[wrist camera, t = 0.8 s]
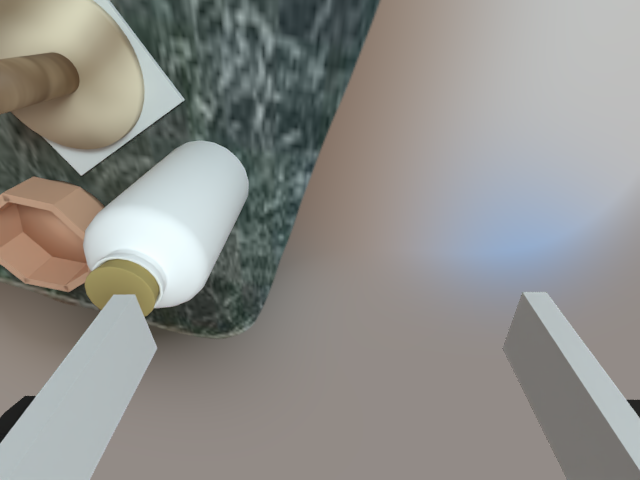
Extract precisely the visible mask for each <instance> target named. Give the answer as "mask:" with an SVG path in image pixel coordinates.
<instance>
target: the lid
mask: <svg viewBox="0 0 640 480" xmlns="http://www.w3.org/2000/svg"><path fill="white" fill-rule="evenodd" d="M144 94H145V89H144V79H143V74H142V70H141V66H140V63H139V60H138V58H137V55H136V53H135V51H134V48H133V47H132V45H131V43H130V41H129V40H128V38H127V36H126V35H125V33H124V32H123V30H122V29H121V28H120V26H119V25H118V24H117V23H116V21H115V20H114V19H113V18H112V17H111V16H110V15H109V14H108V13H107V12H106V11H105V10H104V9H103V8H102V7H101V6H100V5H98V4H97V3H96V2H94V1H93V0H0V114H3V113H7V112H10V111H11V112H12V113H13V114H14V115H15V116H16V117H17V118H18V119H19V120H20V121H21V122H23V123H24V124H25V125H26V126H28V127H29V128H30V129H32V130H33V131H35V132H36V133H38V134H39V135H41V136H43V137H45V138H47V139H48V140H50V141H53V142H55V143H58V144H60V145H64V146H67V147H71V148H76V149H98V148H102V147H106V146H108V145H111V144H113V143H114V142H116V141H118V140H120V139H121V138H123V137H124V136H126V135H127V134H128V133H129V132H130V131H131V130H132V129H133V128H134V126H135V125H136V123H137V122H138V120H139V118H140V115H141V112H142V110H143V104H144Z"/></svg>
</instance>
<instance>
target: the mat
mask: <svg viewBox="0 0 640 480" xmlns="http://www.w3.org/2000/svg"><path fill="white" fill-rule="evenodd" d="M93 1H94V2H96V3H97V4H98V5H100V6H101V7H102V8H103V9H104V10H105V11H106V12H107V13H108V14H109V15H110V16H111V17H112V18H113V19H114V20H115V21H116V23H117V24H118V25H119V26H120V28H121V29H122V30H123V32H124V33H125V35H126V36H127V38H128V40H129V41H130V43H131V45H132V47H133V48H134V51H135V53H136V55H137V58H138V60H139V63H140V66H141V70H142V74H143V79H144V89H145V94H144V104H143V110H142V112H141V115H140V118H139V120H138V122H137V123H136V125H135V126H134V128H133V129H132V130H131V131H130V132H129V133H128V134H127V135H126V136H124V137H123V138H121V139H120V140H118V141H116V142H114V143H113V144H111V145H108V146H106V147H102V148H98V149H76V148H71V147H67V146H64V145H60V144H58V143H55V142H53V141H50V140H48V139H47V138H45V137H43V136H42V137H43V138H44V139H45V140H46V141H47V142H48V143H49V144H50V145H51V146H52V147H53V148H54V149H55V150H56V151H57V152H58V153H59V154H60V155H61V156H62V157H63V158H64V159H65V160H66V161H67V162H68V163H69V164H70V165H71V166H72V167H73V168H74V169H75V170H76V171H77V172H78V173H79V174H80V175H81V176H82V175H83V174H85V173H86V172H87V171H89V170H90V169H91V168H93V167H94V166H95V165H97V164H98V163H100V162H101V161H102V160H104V159H105V158H106V157H108V156H109V155H110V154H112V153H113V152H115V151H116V150H117V149H119V148H120V147H121V146H123V145H124V144H125V143H127V142H128V141H130V140H131V139H132V138H134V137H135V136H136V135H138V134H139V133H140V132H142V131H143V130H145V129H146V128H147V127H149V126H150V125H151V124H153V123H154V122H155V121H157V120H158V119H160V118H161V117H162V116H164V115H165V114H166V113H168V112H169V111H170V110H172V109H173V108H175V107H176V106H177V105H179V104H180V103H181V102H183V101H184V98H183V97H182V96H181V94H180V93H179V92H178V90H177V89H176V88H175V86H174V85H173V84H172V82H171V81H170V80H169V78H168V77H167V76H166V74H165V73H164V72H163V70H162V69H161V68H160V66H159V65H158V64H157V62H156V61H155V60H154V59H153V57H152V56H151V55H150V53H149V52H148V51H147V49H146V48H145V47H144V45H143V44H142V43H141V41H140V40H139V39H138V37H137V36H136V35H135V33H134V32H133V31H132V29H131V28H130V27H129V25H128V24H127V23H126V21H125V20H124V19H123V18H122V16H121V15H120V14H119V12H118V11H117V10H116V8H115V7H114V6H113V4H112V3H111V2H110V0H93Z"/></svg>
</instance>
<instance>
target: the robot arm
mask: <svg viewBox="0 0 640 480" xmlns="http://www.w3.org/2000/svg"><path fill="white" fill-rule="evenodd" d="M156 350H157V346H156V344H155V341H154V339H153V337H152V334H151V332H150V330H149V327H148V325H147V322H146V320H145V317H144V315H143V313H142V310H141V308H140V305H139V303H138V300H137V298H136V296H135V294H126V295H113V296H112V297H111V299H110V300H109V301H108V302H107V304H106V305H105V306H104V308H103V309H102V310H101V312H100V313H99V314H98V316H97V317H96V318H95V320H94V321H93V322H92V324H91V325H90V326H89V327H88V329H87V330H86V332H85V333H84V334H83V335H82V337H81V338H80V339H79V341H78V342H77V343H76V345H75V346H74V347H73V348H72V350H71V351H70V352H69V354H68V355H67V356H66V358H65V359H64V360H63V362H62V363H61V364H60V366H59V367H58V368H57V370H56V371H55V372H54V373H53V375H52V376H51V377H50V379H49V380H48V381H47V383H46V384H45V385H44V387H43V388H42V389H41V391H40V392H39V393H38V395H37V396H25V397H24V398H22V399H21V400H20V401H18V402H17V403H16V404H15V405H14V406H12V407H11V408H10V409H9V410H7V411H6V412H5V413H4V414H3V415H2V416H1V418H0V480H90V478H91V476H92V474H93V472H94V470H95V468H96V466H97V464H98V462H99V460H100V458H101V456H102V455H103V453H104V451H105V449H106V447H107V445H108V443H109V441H110V439H111V437H112V435H113V433H114V431H115V429H116V427H117V425H118V424H119V421H120V420H121V418H122V415H123V414H124V412H125V410H126V408H127V406H128V404H129V402H130V400H131V398H132V396H133V394H134V392H135V390H136V388H137V387H138V384H139V383H140V381H141V378H142V377H143V375H144V373H145V371H146V369H147V367H148V365H149V363H150V361H151V359H152V357H153V355H154V353H155V352H156ZM503 351H504V352H505V354H506V357H507V359H508V361H509V363H510V365H511V367H512V369H513V371H514V373H515V375H516V377H517V379H518V381H519V383H520V385H521V387H522V389H523V391H524V393H525V395H526V397H527V399H528V401H529V403H530V405H531V408H532V410H533V412H534V414H535V415H536V418H537V420H538V422H539V424H540V426H541V428H542V430H543V432H544V434H545V436H546V438H547V440H548V442H549V444H550V446H551V448H552V450H553V452H554V454H555V456H556V458H557V460H558V462H559V464H560V466H561V468H562V471H563V472H564V475H565V476H566V479H567V480H640V400H626V399H625V398H624V396H623V395H622V393H621V392H620V391H619V390H618V388H617V387H616V386H615V384H614V383H613V381H612V380H611V379H610V377H609V376H608V375H607V373H606V372H605V371H604V369H603V368H602V367H601V365H600V364H599V363H598V361H597V360H596V359H595V357H594V356H593V355H592V353H591V352H590V350H589V349H588V348H587V346H586V345H585V344H584V342H583V341H582V340H581V338H580V337H579V336H578V334H577V333H576V331H575V330H574V329H573V327H572V326H571V325H570V323H569V322H568V321H567V319H566V318H565V317H564V315H563V314H562V313H561V311H560V310H559V309H558V307H557V306H556V305H555V303H554V302H553V300H552V299H551V298H550V296H549V295H548V294H547V292H523V293H522V295H521V298H520V301H519V304H518V307H517V309H516V312H515V315H514V318H513V321H512V323H511V326H510V329H509V332H508V335H507V337H506V340H505V343H504V346H503Z"/></svg>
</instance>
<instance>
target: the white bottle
mask: <svg viewBox="0 0 640 480" xmlns="http://www.w3.org/2000/svg"><path fill="white" fill-rule="evenodd" d="M248 187H249V181H248V178H247V174H246V171H245V168H244V167H243V165H242V164H241V162H240V161H239V159H238V158H237V157H236V156H235V155H234V154H232V153H231V152H230V151H229V150H228V149H227V148H224V147H222V146H220V145H218V144H216V143H214V142H207V141H201V140H200V141H193V142H187V143H185V144H183V145H181V146H179V147H178V148H176V149H175V150H173V151H172V152H171V153H170V154H169V155H167V156H166V157H165V158H164V159H162V160H161V161H160V162H159V163H158V164H156V165H155V166H154V167H153V168H152V169H150V170H149V171H148V172H147V173H146V174H144V175H143V176H142V177H141V178H140V179H138V180H137V181H136V182H135V183H134V184H132V185H131V186H130V187H129V188H128V189H126V190H125V191H124V192H123V193H121V194H120V195H119V196H118V197H117V198H115V199H114V200H113V201H112V202H111V203H109V204H108V205H107V206H106V207H105V208H103V209H102V210H101V211H100V212H99V213H97V215H96V216H95V218H94V219H93V220H92V222H91V223H90V224H89V226H88V227H87V229H86V230H85V236H84V241H83V249H84V253H85V257H86V261H87V265H88V267H89V269H90V270H91V272H90V274H89V275H88V276H87V277H86V281H85V289H86V293H87V295H88V297H89V298H90V300H91V301H92V303H93V304H95V305H96V306H97V307H98V308H99V309H100V310H102V309H103V308H104V306H105V305H106V304H107V302H108V301H109V300H110V299H111V297H112V296H113V295H126V294H135V296H136V298H137V300H138V303H139V305H140V308H141V310H142V313H143V315H144V317H145V316H147V315H148V314H149V313H150V312H151V311H152V310H153V309H154V308H163V307H172V306H177V305H179V304H181V303H184V302H186V301H189V300H190V299H191V298H193V297H194V296H195V295H196V294H197V293H198V292H199V291H200V290H201V289H202V288H203V287H204V285H205V283H206V281H207V279H208V277H209V275H210V273H211V271H212V269H213V267H214V265H215V263H216V260H217V258H218V256H219V254H220V252H221V250H222V248H223V246H224V244H225V242H226V240H227V238H228V236H229V234H230V232H231V230H232V228H233V226H234V224H235V222H236V219H237V217H238V215H239V213H240V211H241V209H242V207H243V205H244V203H245V201H246V198H247V196H248Z"/></svg>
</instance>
